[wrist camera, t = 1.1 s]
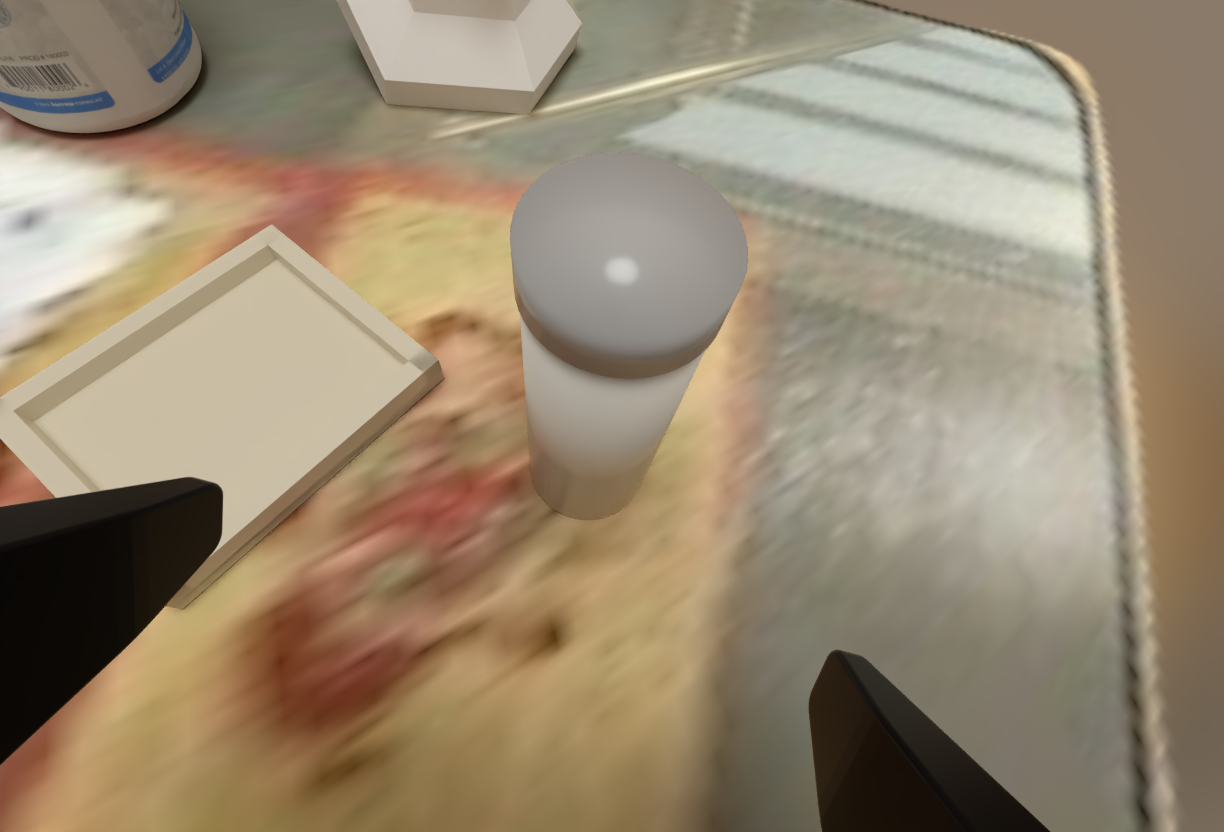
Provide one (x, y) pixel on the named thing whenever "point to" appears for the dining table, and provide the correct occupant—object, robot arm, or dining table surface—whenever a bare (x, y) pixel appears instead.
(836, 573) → the dining table surface
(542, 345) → the salt shaker
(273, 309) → the tray
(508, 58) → the white faceted sculpture
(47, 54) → the supplement tub
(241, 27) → the dining table surface
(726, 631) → the dining table surface
